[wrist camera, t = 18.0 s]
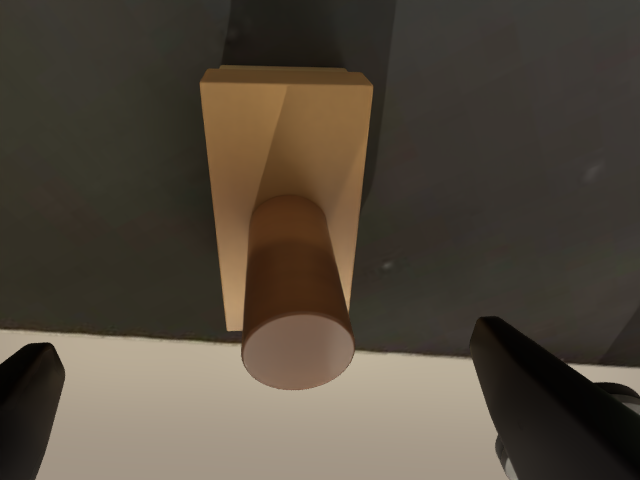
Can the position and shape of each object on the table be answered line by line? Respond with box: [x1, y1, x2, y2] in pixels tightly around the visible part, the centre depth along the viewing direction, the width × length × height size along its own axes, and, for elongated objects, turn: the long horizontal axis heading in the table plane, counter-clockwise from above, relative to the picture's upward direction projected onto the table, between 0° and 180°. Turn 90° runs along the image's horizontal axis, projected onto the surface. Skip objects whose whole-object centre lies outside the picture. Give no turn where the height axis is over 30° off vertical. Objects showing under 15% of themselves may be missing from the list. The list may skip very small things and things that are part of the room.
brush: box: [200, 65, 373, 390], centre depth 12 cm, size 9×4×8 cm, turn 177°
